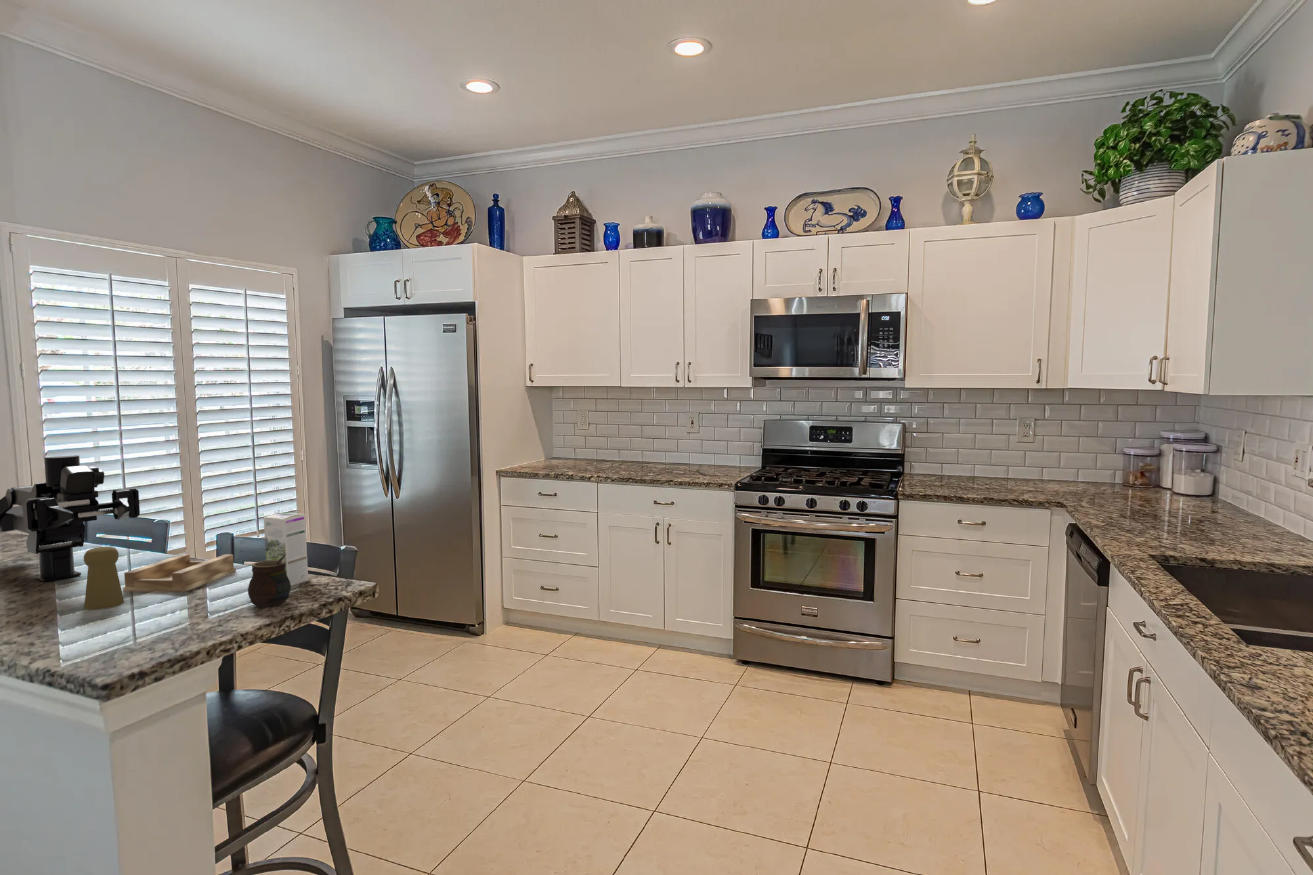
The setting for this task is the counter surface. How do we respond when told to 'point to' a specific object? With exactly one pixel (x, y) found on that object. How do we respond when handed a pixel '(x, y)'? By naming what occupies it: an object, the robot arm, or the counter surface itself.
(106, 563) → the olive pepper mill
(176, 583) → the track
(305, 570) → the syrup box
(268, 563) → the mate gourd
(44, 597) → the counter surface
